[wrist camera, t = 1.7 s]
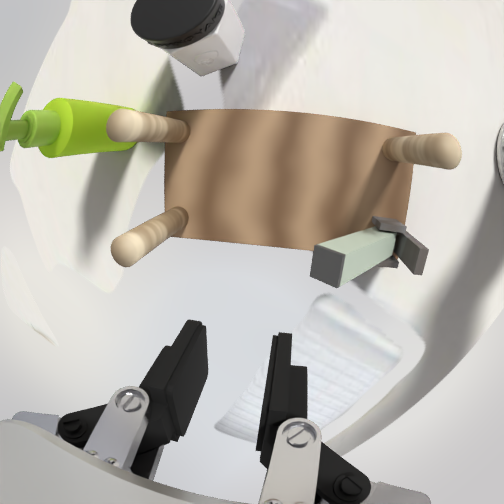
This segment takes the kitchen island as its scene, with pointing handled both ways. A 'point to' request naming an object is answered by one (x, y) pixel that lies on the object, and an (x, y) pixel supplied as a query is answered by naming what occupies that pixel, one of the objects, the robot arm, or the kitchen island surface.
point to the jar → (191, 31)
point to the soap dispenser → (59, 126)
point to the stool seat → (279, 178)
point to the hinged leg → (351, 255)
